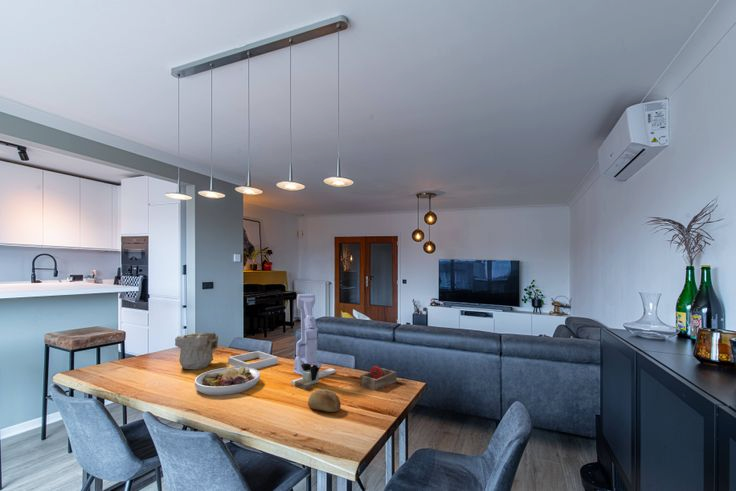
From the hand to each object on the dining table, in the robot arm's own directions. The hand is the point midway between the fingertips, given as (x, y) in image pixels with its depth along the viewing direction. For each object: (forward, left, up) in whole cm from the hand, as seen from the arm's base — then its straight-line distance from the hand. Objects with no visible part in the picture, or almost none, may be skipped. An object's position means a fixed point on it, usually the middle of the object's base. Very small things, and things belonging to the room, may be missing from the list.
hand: (310, 378), depth 169 cm
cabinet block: (0, 0, -2) cm, 2 cm away
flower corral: (-51, -1, -2) cm, 51 cm away
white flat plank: (-4, +7, -2) cm, 9 cm away
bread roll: (+28, -17, -3) cm, 32 cm away
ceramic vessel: (-72, -24, -2) cm, 76 cm away
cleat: (+2, -6, -2) cm, 7 cm away
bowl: (-28, -29, -3) cm, 41 cm away
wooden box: (+27, +23, -2) cm, 35 cm away
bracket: (+27, +23, -3) cm, 35 cm away
